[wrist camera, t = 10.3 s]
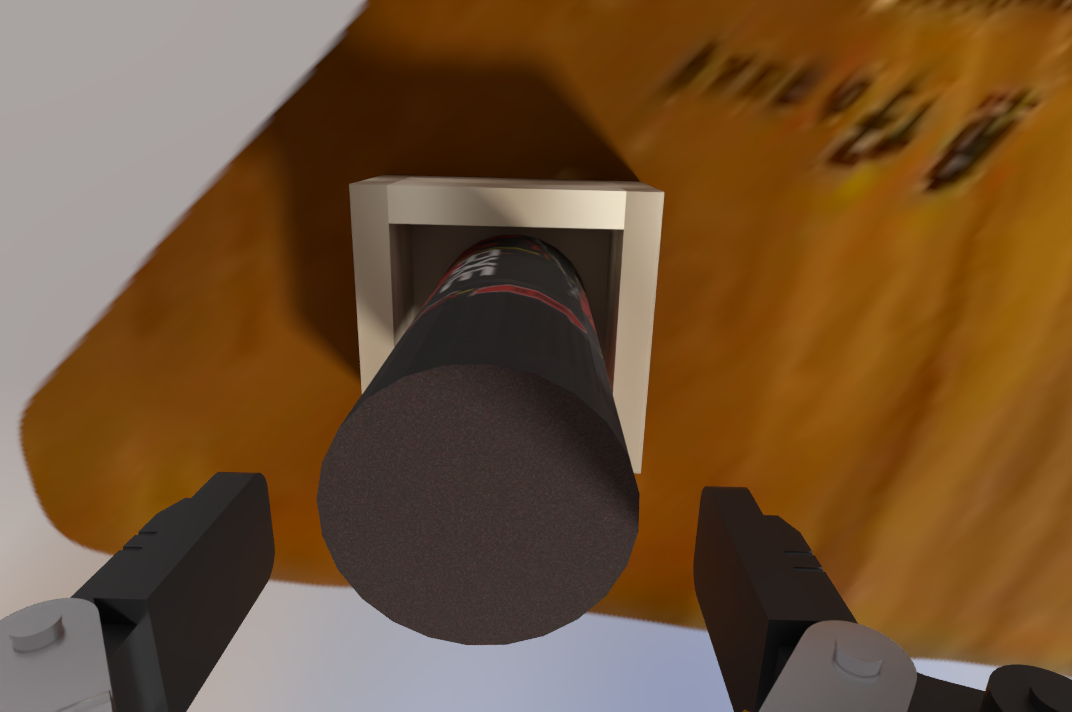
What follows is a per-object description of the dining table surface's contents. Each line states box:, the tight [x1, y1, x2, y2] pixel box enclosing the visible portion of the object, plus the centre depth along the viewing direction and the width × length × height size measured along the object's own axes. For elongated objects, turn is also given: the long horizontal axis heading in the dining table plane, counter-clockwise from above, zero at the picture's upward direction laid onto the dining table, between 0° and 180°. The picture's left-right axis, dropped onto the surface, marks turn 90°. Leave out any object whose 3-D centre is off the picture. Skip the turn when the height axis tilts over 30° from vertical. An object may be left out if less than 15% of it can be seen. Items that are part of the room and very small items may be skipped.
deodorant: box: [317, 234, 639, 645], centre depth 19 cm, size 6×6×15 cm
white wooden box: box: [349, 175, 664, 473], centre depth 25 cm, size 10×10×5 cm
